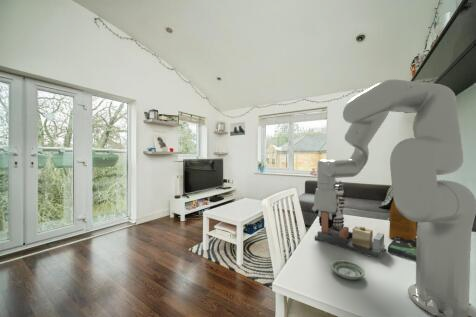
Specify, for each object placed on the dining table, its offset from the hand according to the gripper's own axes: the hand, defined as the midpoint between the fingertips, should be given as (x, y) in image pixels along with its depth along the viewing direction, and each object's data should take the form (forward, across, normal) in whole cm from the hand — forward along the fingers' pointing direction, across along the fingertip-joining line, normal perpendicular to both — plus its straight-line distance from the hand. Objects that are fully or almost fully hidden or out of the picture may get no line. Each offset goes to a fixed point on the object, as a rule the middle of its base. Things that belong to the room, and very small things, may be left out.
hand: (326, 225), depth 92 cm
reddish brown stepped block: (+3, -3, 0) cm, 5 cm away
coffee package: (+5, -25, -24) cm, 35 cm away
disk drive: (+6, -28, -10) cm, 30 cm away
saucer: (+6, -16, +24) cm, 30 cm away
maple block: (+4, -15, 0) cm, 15 cm away
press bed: (+5, -9, 0) cm, 11 cm away
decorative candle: (+5, 0, -12) cm, 13 cm away
